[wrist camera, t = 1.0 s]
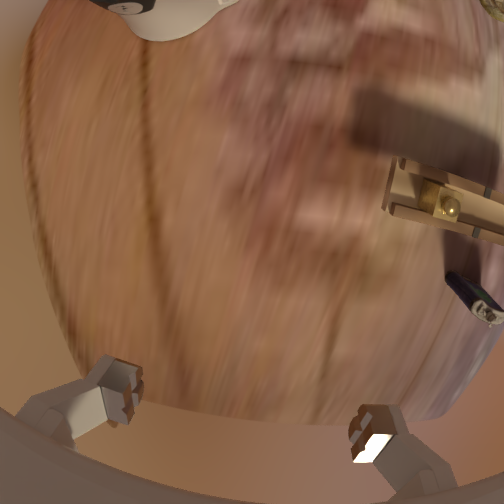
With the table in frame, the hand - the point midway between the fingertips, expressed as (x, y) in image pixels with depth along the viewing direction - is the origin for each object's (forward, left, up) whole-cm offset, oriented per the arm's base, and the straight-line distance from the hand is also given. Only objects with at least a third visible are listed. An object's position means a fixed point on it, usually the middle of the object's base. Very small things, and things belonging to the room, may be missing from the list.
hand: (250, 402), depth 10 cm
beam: (-6, +23, -31) cm, 39 cm away
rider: (-6, +16, -23) cm, 29 cm away
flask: (+7, +32, -31) cm, 46 cm away
